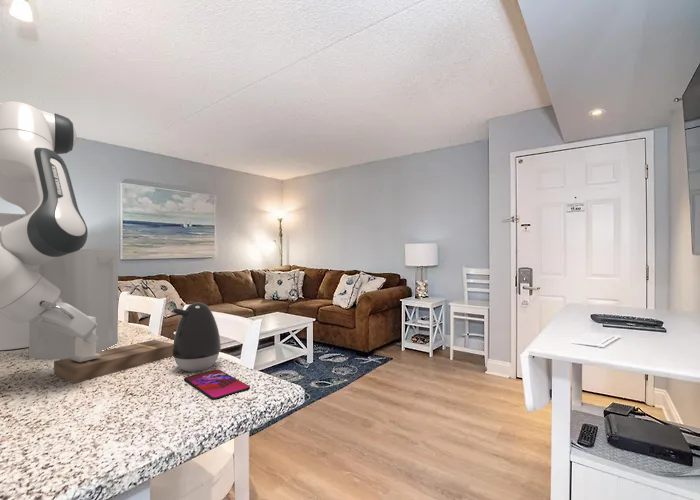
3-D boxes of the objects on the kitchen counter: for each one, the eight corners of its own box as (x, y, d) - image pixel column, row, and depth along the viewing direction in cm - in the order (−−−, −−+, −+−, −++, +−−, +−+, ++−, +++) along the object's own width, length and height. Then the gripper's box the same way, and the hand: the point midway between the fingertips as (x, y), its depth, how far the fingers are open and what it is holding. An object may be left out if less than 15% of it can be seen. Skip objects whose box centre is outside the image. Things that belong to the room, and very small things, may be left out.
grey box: (29, 367, 79) (30, 248, 80) (28, 354, 90) (30, 250, 91) (125, 351, 93) (126, 249, 93) (115, 342, 103) (115, 250, 104)
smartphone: (212, 398, 60) (182, 377, 71) (212, 403, 60) (182, 381, 71) (252, 386, 66) (218, 368, 76) (252, 391, 66) (218, 372, 76)
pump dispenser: (164, 368, 78) (164, 302, 78) (209, 358, 86) (209, 298, 86) (181, 379, 71) (182, 307, 71) (228, 367, 79) (228, 302, 79)
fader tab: (79, 362, 72) (80, 319, 72) (69, 358, 75) (69, 317, 75) (101, 357, 76) (101, 317, 76) (90, 354, 78) (90, 315, 78)
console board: (74, 383, 69) (74, 368, 69) (53, 374, 74) (54, 361, 74) (176, 355, 88) (176, 344, 88) (154, 350, 93) (154, 339, 93)
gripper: (68, 290, 64) (124, 332, 73) (28, 286, 75) (80, 323, 83) (38, 318, 60) (100, 358, 69) (-1, 309, 71) (57, 346, 79)
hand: (89, 339), depth 76 cm, fingers closed on fader tab, 4 cm apart
